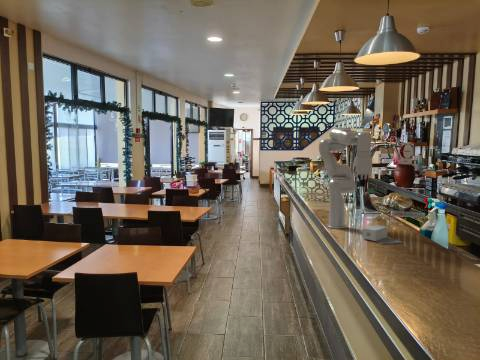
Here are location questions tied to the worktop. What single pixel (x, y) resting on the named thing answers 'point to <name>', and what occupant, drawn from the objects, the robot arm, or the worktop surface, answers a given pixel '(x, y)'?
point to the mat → (388, 241)
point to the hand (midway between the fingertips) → (361, 186)
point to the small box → (375, 232)
